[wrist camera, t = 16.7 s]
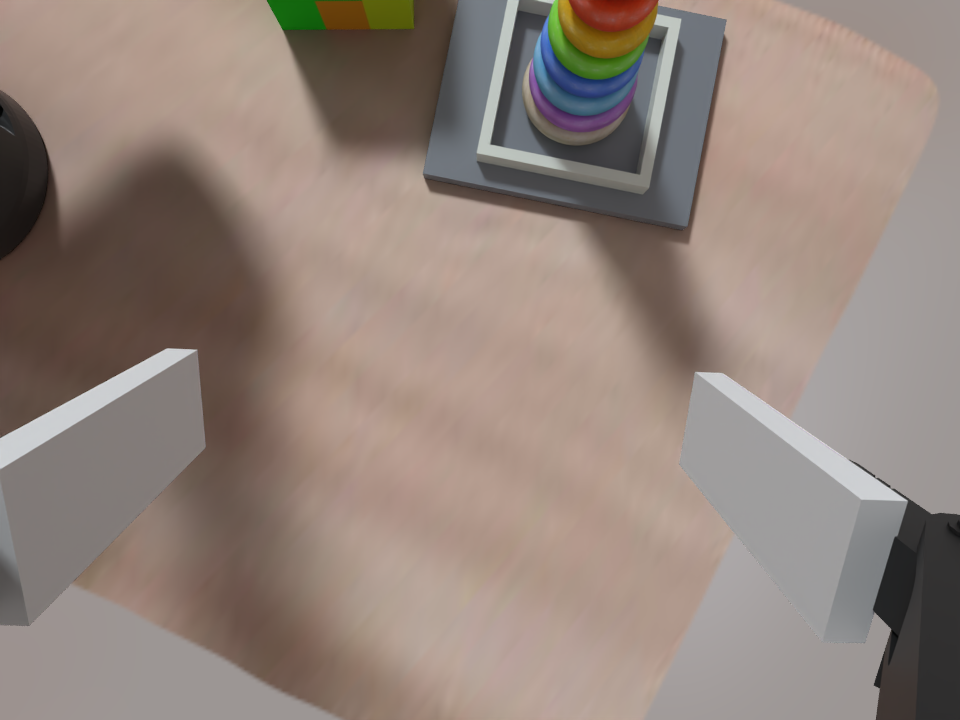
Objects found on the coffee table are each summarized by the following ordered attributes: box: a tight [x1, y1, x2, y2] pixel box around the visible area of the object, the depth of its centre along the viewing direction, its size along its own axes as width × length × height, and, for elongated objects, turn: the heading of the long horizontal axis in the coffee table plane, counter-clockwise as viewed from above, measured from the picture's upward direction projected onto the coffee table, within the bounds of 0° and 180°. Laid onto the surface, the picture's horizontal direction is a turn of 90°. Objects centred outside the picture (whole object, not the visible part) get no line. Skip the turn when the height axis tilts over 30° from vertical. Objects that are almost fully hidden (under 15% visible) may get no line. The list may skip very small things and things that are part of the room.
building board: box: [423, 0, 726, 230], centre depth 42 cm, size 20×16×2 cm
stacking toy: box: [522, 0, 658, 146], centre depth 33 cm, size 8×8×19 cm
